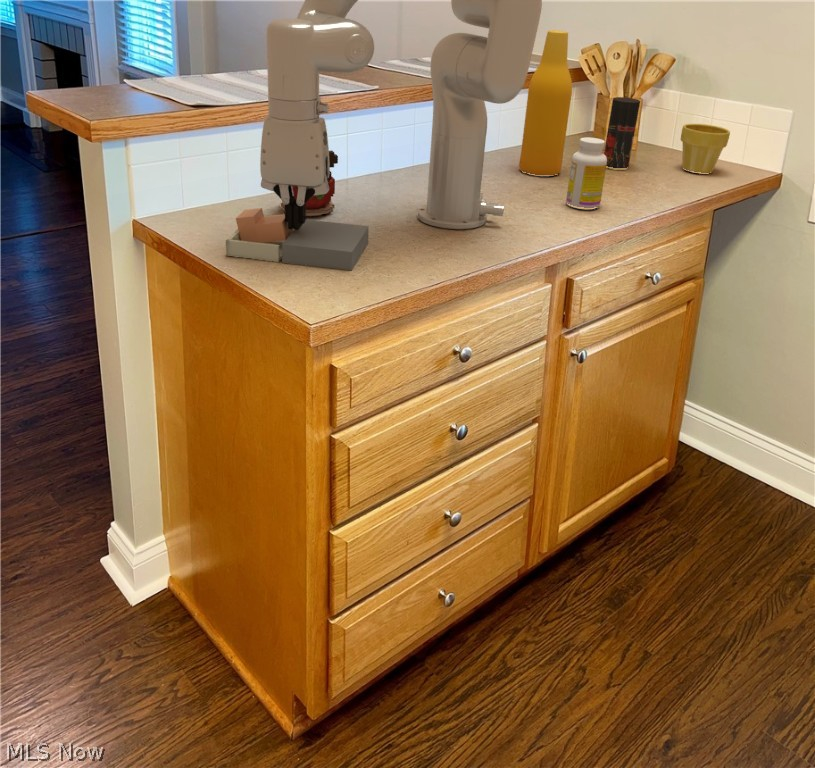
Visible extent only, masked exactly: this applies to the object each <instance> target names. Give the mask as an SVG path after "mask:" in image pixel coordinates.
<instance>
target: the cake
mask: <svg viewBox="0 0 815 768" xmlns="http://www.w3.org/2000/svg"><path fill="white" fill-rule="evenodd" d="M329 162H330V168H335V164H339V156H338V155H337V154H335V151H333V150H329ZM327 181H328V185H329V191H328V192H327V193H326V194H321V195H314V196H312V197H311V198H310V199H309V200H308V201H307V202H306V217H309V216H313V217H314V216H323V214H329V213H331V212H333V211H334V209H335V203H333V202H332V197H334V195H335V194H336V193H335V192H336V187H335V186H336V179H335V178H334V177H333V175H332V171H331V170H330V174H329V178H328V179H327ZM298 187H299V186H292V188H293V194H294V197H295V200H297V194H298ZM280 207H281V209H282V210H283V211H284V212H285V204H283V203H282V202H280Z"/></svg>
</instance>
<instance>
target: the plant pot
mask: <svg viewBox="0 0 815 768" xmlns="http://www.w3.org/2000/svg"><path fill="white" fill-rule="evenodd" d="M730 135H731V131H730V130H729V129H727V128H724V127H721V126H717V125H712V124H704V123H703V124H702V123H685V124H683V125H682V129H681V134H680V142H682V158H681V159H682V162H681V163H682V166H681V167H683V168H684V169H686V170H689V171H694V172H701V173H710V172H712V173H713V171H714V169H715V168H716V164H717V163H718V160H719V158H720V156H721V153H722V152H723V149H724V148H726V147H727V146H728V143H729V139H730ZM683 168H682V169H683Z"/></svg>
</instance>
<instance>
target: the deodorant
mask: <svg viewBox="0 0 815 768" xmlns="http://www.w3.org/2000/svg"><path fill="white" fill-rule="evenodd" d="M640 105H641V100H639V99H636V98H634V97H633V98H631V97H627V96H626V97H623V96H619V97H618V96H617V97H613V98H612V102H611V109H610V115H609V119H608V120H609V121H608V128H607V133H606V139H605V144H604V149H603V150H604V151H603V154H604V155H605V156H606V158H607V165H606V166H608V167H613V168H627V167H628V168H629V166H630V160H631V155H632V151H633V150H632V149H633V143H634V138H635V134H636V127H637V121H638V115H639V109H640Z"/></svg>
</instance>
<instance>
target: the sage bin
mask: <svg viewBox="0 0 815 768" xmlns="http://www.w3.org/2000/svg"><path fill="white" fill-rule="evenodd" d="M294 230H295V229H294V228H293V231H294ZM283 243H284V241H276V242H266V243H257V242H248V241H241V238H240V234H239V230H238V228H237V229H236V230H234V232H233V233H231V235H230V236H229V237H228V238H227V239H226V240H225V255H227V256H226V257H228V256H236V257H235V258H237V256H238V257H245V258H244V259H246V258H252V259H251V260H254V259H259V260H258V261H263V260H265V261H264V262H272V261H273V263H274V262H275V263H279V262H280V261H282V244H283Z"/></svg>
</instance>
